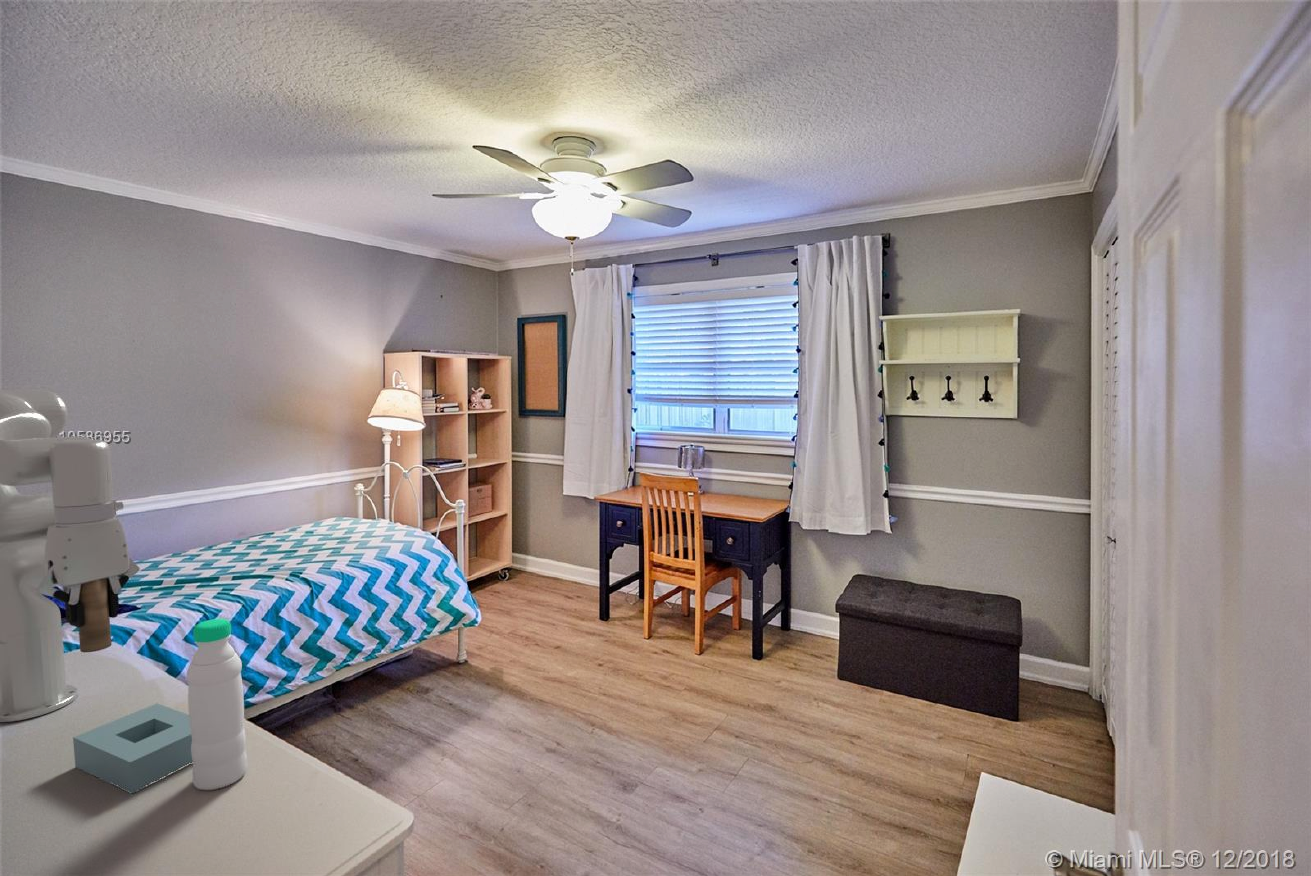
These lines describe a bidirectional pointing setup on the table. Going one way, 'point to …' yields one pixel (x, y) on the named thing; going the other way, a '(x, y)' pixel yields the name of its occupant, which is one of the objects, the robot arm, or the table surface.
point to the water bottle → (216, 708)
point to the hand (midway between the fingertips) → (93, 619)
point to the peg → (95, 616)
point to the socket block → (136, 747)
